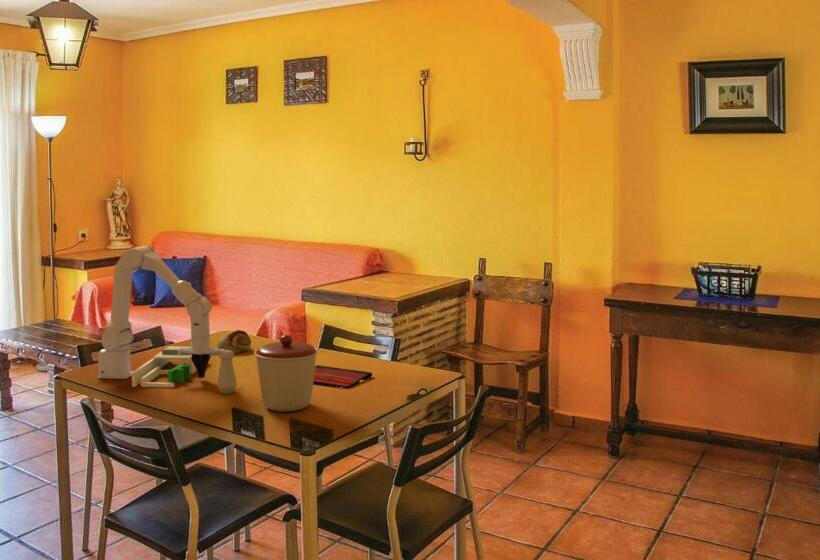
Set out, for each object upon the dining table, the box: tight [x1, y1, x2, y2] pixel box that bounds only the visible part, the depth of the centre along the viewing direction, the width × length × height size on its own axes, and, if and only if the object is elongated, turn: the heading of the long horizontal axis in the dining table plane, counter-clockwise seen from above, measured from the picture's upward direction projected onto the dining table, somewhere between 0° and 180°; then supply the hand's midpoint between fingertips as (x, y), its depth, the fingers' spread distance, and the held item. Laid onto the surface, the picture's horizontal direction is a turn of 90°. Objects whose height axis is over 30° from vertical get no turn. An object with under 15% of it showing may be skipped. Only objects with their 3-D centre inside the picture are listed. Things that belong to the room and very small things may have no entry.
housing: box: [131, 357, 197, 388], centre depth 259 cm, size 14×32×4 cm, turn 178°
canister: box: [253, 334, 319, 413], centre depth 224 cm, size 18×18×21 cm
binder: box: [313, 364, 373, 389], centre depth 255 cm, size 16×2×21 cm
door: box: [152, 345, 192, 361], centre depth 266 cm, size 12×16×2 cm
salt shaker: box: [217, 350, 237, 395], centre depth 238 cm, size 6×6×13 cm
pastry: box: [217, 329, 252, 355], centre depth 293 cm, size 14×12×8 cm
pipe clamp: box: [167, 362, 191, 384], centre depth 252 cm, size 11×4×5 cm, turn 173°
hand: (201, 377), depth 251 cm, fingers closed
